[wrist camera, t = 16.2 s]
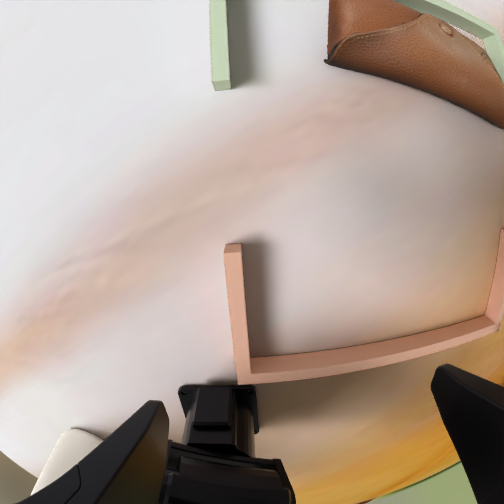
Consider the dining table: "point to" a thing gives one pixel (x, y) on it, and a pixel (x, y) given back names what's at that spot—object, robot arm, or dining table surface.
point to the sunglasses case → (414, 54)
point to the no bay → (350, 357)
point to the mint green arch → (427, 3)
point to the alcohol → (66, 455)
